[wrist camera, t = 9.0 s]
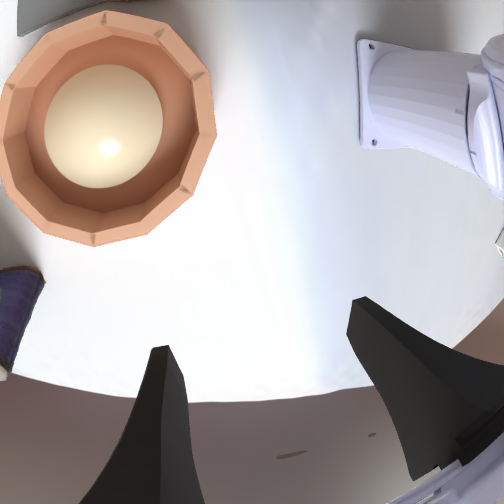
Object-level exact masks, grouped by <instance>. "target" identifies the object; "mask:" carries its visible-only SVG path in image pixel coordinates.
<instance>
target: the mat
mask: <svg viewBox="0 0 504 504" xmlns="http://www.w3.org/2000/svg"><path fill="white" fill-rule="evenodd" d="M106 1H109V0H18V9H17V36H19V37H23V36H24V35H26V34H28V33H30V32H32V31H34V30H36V29H38V28H40V27H42V26H44V25H46V24H48V23H51V22H53V21H55V20H57V19H60V18H62V17H64V16H67V15H69V14H72V13H74V12H77V11H79V10H82V9H85V8H88V7H90V6H93V5H96V4H99V3H102V2H106Z"/></svg>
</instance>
